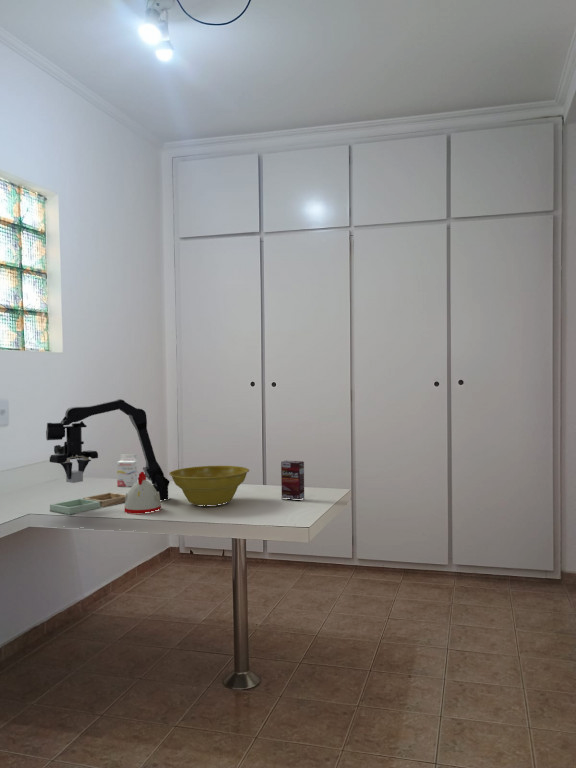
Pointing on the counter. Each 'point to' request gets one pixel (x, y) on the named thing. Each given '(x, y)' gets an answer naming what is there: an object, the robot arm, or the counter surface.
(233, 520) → the counter surface
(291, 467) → the supplement box
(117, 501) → the oak tray
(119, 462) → the ink cartridge box
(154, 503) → the kitchen timer
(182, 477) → the planter bowl
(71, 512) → the green bin
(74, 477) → the grey cube
